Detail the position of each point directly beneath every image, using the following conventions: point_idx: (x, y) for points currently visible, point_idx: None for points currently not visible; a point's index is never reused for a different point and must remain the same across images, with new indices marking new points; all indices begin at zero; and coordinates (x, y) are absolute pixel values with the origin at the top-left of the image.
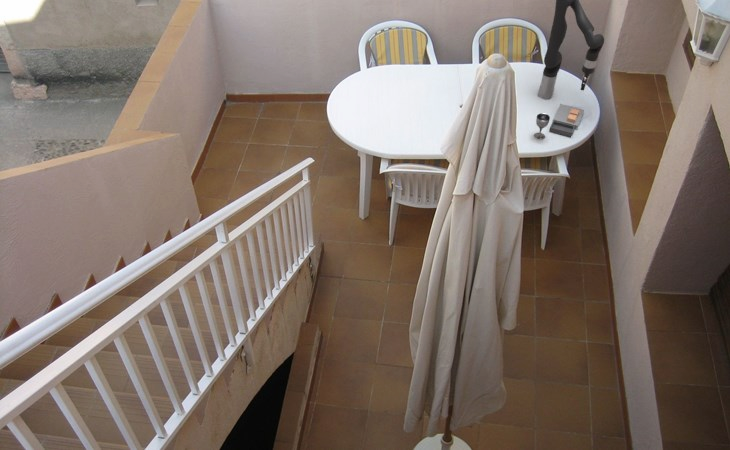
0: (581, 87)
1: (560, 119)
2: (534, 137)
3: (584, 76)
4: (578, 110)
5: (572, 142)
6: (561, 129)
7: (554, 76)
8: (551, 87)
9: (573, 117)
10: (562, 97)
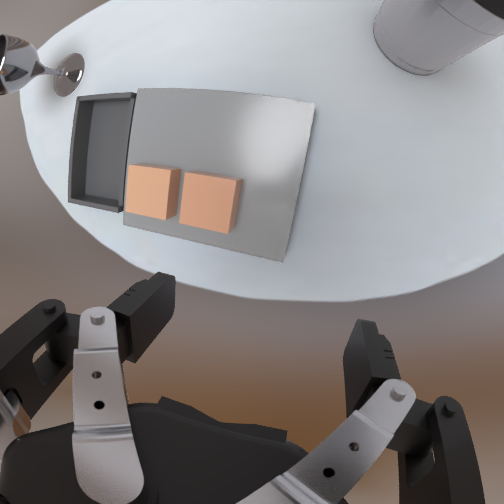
0: (141, 293)
1: (146, 126)
2: (61, 63)
3: (4, 449)
4: (222, 227)
5: (64, 207)
6: (111, 147)
7: None
8: (407, 18)
9: (143, 199)
10: (422, 132)
